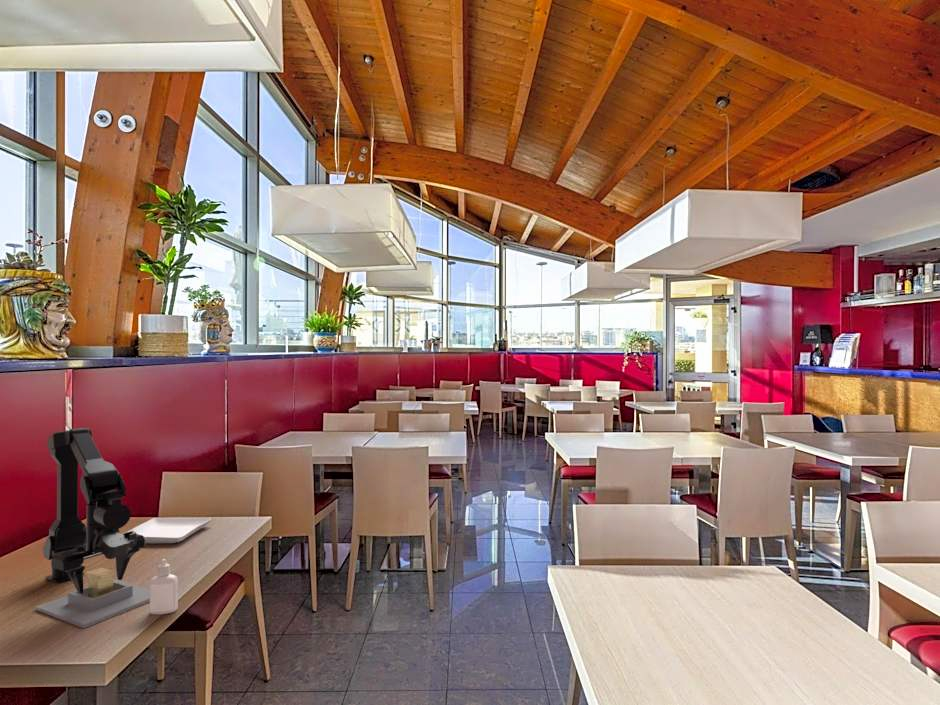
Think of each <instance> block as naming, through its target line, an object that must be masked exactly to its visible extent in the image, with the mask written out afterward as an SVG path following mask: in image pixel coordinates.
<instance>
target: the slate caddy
mask: <svg viewBox="0 0 940 705" xmlns="http://www.w3.org/2000/svg"><path fill="white" fill-rule="evenodd" d="M149 603H150V588H146V587H144V586H140V585H136V584H132V583H129V582H126V581H124V580H123V581H122V580H118V579H114V578H113V591H112V592H109V593H107V594H104V595H101V596H98V597H96V598H91V597H88V586H85V587H83V593H82V594H79V593H78V591H77V589H76V590H73V591H71V592H68V593H67V595H65V596H63V597H59V598H56V599H53V600H51V601H48V602H45V603H41V604H39V605H37V606H35V610H36V611H38V612H40V613H42V614H45V615H48V616H50V617H54V618H56V619H58V620H61V621H64V622H66V623H69V624H71V625H74V626H76V627H79V628H82V629H85V628H89V627H91V626H93V625H95V624H98V623H101V622H103V621H106V620H108V619H112V618H113V617H115V616H118V615H121V614H123V613H125V612H128V611H131V610H133V609H135V608H137V607H140V606H142V605H145V604H149Z"/></svg>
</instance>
